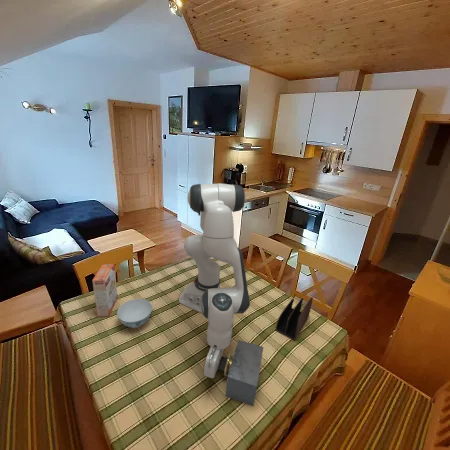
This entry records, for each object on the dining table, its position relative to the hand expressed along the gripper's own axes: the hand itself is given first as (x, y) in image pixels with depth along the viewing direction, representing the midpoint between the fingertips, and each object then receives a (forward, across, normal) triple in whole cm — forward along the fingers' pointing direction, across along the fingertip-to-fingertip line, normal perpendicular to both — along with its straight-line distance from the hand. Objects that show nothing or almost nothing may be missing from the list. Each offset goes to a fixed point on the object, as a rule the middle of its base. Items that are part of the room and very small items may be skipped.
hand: (216, 362), depth 90 cm
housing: (+4, 0, -11) cm, 12 cm away
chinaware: (+4, +10, +43) cm, 44 cm away
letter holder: (+4, +36, -28) cm, 46 cm away
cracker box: (+4, +14, +62) cm, 64 cm away
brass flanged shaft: (+3, 0, -4) cm, 5 cm away
